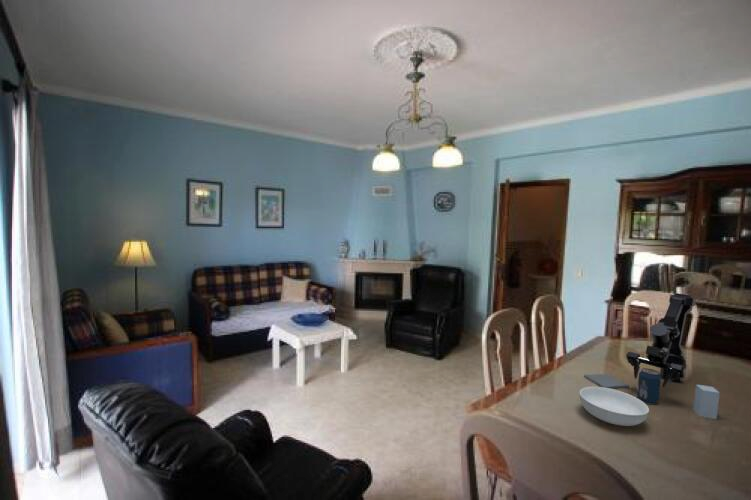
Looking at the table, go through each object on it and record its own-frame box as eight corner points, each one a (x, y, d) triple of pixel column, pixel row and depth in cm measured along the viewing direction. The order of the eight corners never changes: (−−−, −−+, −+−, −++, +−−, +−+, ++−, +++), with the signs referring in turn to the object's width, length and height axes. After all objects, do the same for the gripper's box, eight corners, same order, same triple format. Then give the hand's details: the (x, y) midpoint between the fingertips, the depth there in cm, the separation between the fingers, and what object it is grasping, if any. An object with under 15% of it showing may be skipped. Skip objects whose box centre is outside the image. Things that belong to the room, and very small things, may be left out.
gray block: (693, 410, 142) (696, 384, 141) (709, 412, 140) (712, 387, 139) (699, 416, 137) (702, 390, 136) (716, 419, 135) (719, 392, 134)
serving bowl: (649, 442, 120) (651, 421, 119) (575, 421, 131) (577, 402, 130) (644, 414, 138) (646, 396, 137) (580, 398, 149) (581, 381, 148)
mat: (607, 375, 171) (607, 373, 171) (629, 387, 159) (629, 385, 159) (583, 376, 169) (583, 374, 169) (604, 389, 157) (604, 386, 157)
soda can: (657, 399, 149) (660, 370, 148) (659, 406, 143) (662, 376, 142) (636, 394, 153) (639, 366, 152) (637, 401, 147) (640, 371, 146)
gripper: (630, 332, 156) (617, 363, 150) (687, 345, 142) (676, 380, 136) (634, 347, 162) (623, 378, 156) (689, 361, 148) (679, 395, 142)
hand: (648, 382), depth 147 cm, fingers open, 9 cm apart
